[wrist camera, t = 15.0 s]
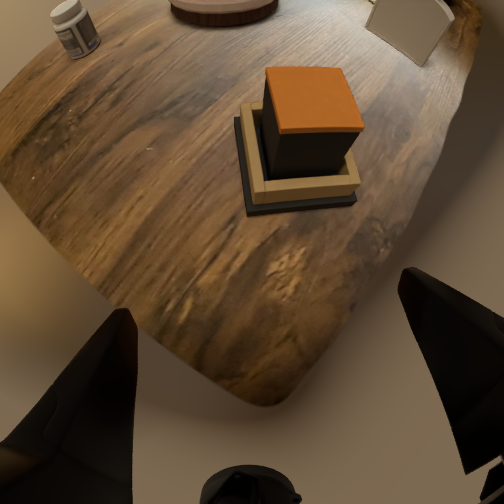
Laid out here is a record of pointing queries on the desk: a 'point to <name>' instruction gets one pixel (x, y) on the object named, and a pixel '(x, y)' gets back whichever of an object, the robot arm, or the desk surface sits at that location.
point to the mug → (222, 11)
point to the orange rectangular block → (307, 121)
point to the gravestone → (411, 25)
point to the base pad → (287, 190)
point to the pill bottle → (75, 28)
